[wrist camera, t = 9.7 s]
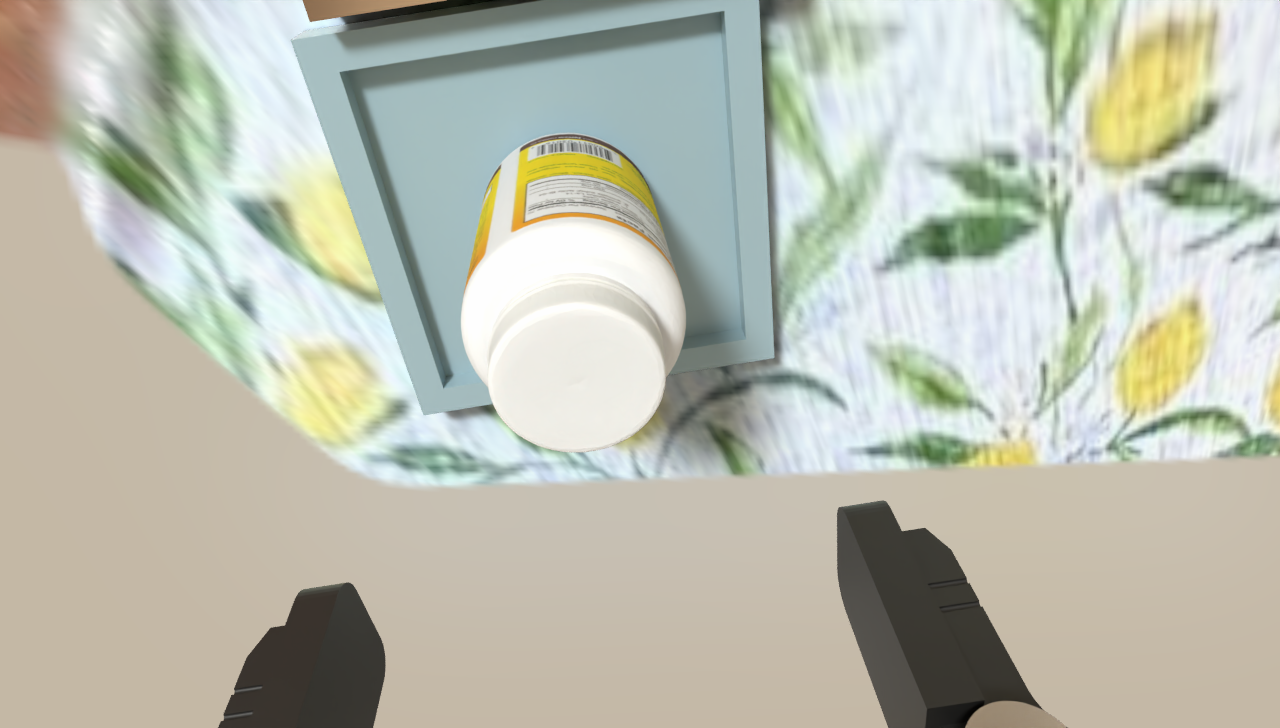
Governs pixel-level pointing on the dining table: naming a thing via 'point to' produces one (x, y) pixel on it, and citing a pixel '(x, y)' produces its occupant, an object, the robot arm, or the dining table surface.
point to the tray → (537, 106)
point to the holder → (353, 7)
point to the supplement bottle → (572, 295)
